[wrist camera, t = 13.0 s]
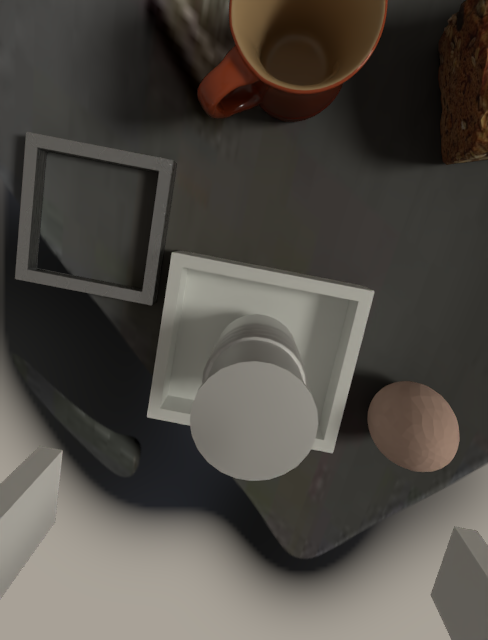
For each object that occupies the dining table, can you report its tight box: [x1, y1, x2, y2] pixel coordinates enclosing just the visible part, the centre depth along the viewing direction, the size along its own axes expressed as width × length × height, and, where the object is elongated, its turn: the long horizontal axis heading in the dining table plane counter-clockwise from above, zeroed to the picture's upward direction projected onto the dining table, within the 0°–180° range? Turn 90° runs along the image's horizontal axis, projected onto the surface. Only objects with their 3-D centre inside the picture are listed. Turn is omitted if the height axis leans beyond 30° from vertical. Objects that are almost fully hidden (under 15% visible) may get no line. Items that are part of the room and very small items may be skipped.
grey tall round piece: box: [190, 314, 318, 481], centre depth 29 cm, size 7×7×15 cm
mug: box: [197, 0, 387, 122], centre depth 28 cm, size 12×9×10 cm
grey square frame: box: [15, 132, 177, 305], centre depth 35 cm, size 12×12×2 cm
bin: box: [147, 250, 374, 453], centre depth 35 cm, size 14×16×4 cm
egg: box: [367, 381, 459, 472], centre depth 33 cm, size 7×7×9 cm
